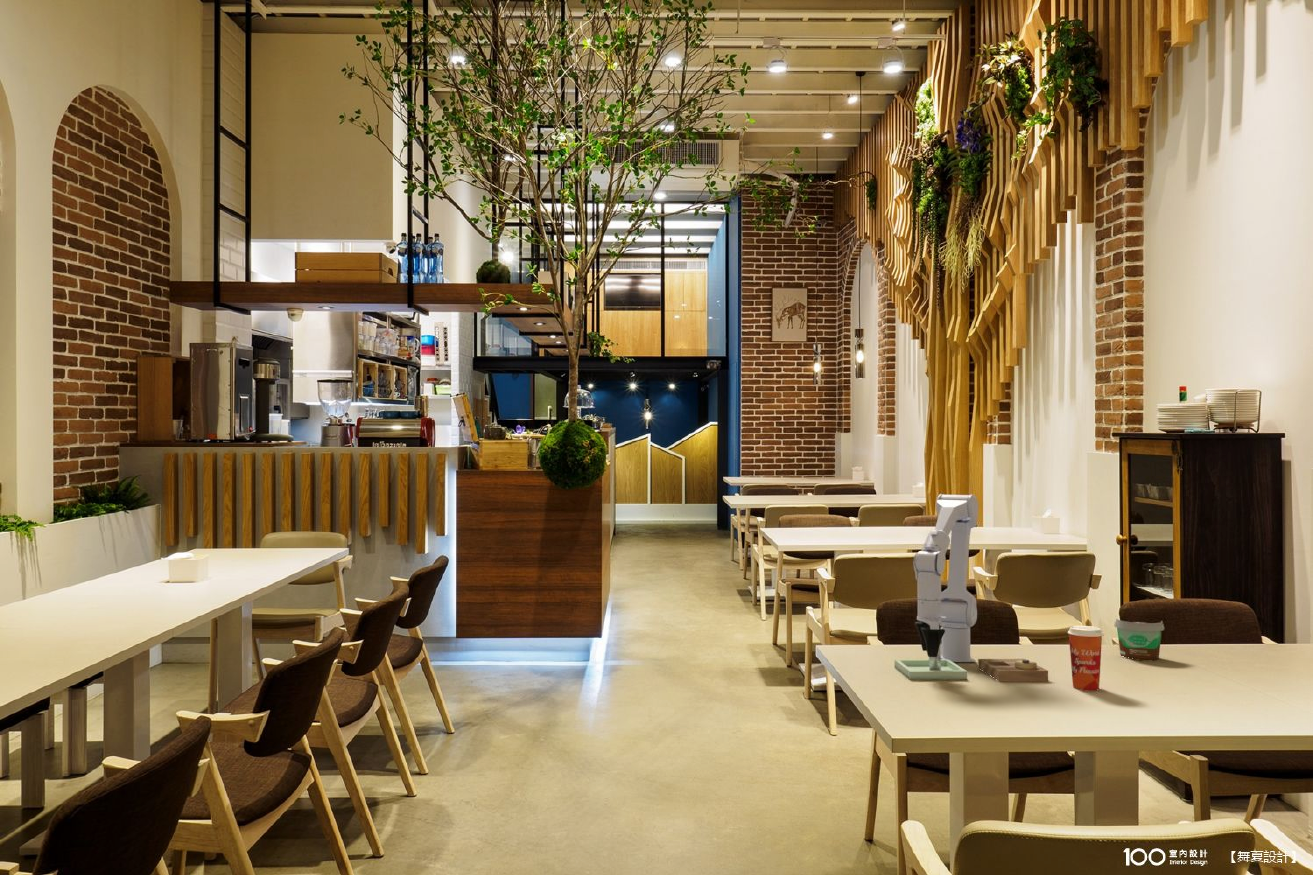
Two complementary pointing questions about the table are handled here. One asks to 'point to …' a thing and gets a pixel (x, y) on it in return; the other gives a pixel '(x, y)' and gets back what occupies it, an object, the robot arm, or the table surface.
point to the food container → (1139, 639)
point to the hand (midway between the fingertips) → (929, 653)
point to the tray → (921, 671)
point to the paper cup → (1085, 656)
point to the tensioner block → (1013, 669)
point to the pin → (935, 661)
